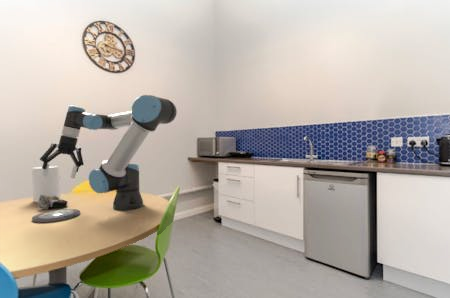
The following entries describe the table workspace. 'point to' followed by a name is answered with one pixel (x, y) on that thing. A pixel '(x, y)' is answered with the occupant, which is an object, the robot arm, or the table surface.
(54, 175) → the canister
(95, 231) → the table surface
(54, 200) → the caster wheel
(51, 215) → the carrier plate
